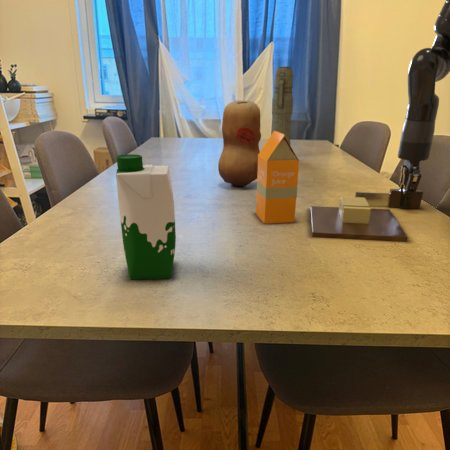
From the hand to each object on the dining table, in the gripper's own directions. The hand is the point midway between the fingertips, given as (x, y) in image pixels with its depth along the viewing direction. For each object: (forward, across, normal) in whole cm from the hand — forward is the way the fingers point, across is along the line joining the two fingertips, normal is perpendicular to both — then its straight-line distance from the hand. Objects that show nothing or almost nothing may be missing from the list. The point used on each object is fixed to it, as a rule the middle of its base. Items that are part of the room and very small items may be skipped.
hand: (403, 206), depth 117 cm
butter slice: (-1, -20, +15) cm, 25 cm away
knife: (0, 0, +4) cm, 5 cm away
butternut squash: (0, +18, +47) cm, 50 cm away
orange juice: (0, -16, +34) cm, 38 cm away
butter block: (-1, -14, +15) cm, 21 cm away
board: (0, -18, +15) cm, 23 cm away
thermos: (0, +80, +37) cm, 88 cm away
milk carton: (0, -53, +54) cm, 76 cm away
